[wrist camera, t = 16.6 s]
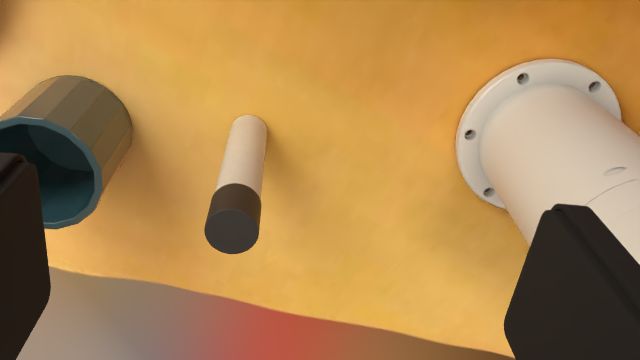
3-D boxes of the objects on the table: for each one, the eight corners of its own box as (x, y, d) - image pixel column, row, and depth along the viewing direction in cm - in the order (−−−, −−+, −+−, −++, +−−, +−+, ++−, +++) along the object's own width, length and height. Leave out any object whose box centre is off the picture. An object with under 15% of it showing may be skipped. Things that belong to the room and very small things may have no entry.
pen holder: (131, 81, 42) (98, 124, 35) (133, 177, 46) (105, 233, 39) (17, 69, 42) (-40, 110, 35) (29, 168, 45) (-20, 223, 38)
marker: (270, 115, 44) (260, 211, 32) (266, 150, 46) (256, 256, 33) (230, 111, 44) (205, 206, 32) (228, 147, 45) (203, 252, 33)
